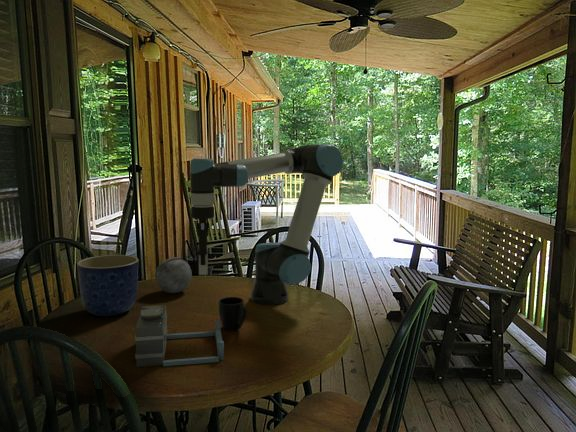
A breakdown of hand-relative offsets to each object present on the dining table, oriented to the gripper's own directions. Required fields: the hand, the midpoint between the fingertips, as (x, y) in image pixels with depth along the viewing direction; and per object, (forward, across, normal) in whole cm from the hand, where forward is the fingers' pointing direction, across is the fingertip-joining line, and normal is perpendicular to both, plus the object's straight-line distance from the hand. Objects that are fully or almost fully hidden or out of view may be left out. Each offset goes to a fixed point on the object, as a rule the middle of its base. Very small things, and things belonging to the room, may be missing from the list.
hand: (203, 269), depth 148 cm
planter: (+20, -18, -34) cm, 43 cm away
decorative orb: (+20, -39, -13) cm, 46 cm away
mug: (+20, +5, +10) cm, 23 cm away
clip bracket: (+20, +18, -4) cm, 27 cm away
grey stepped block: (+19, +19, -15) cm, 31 cm away
